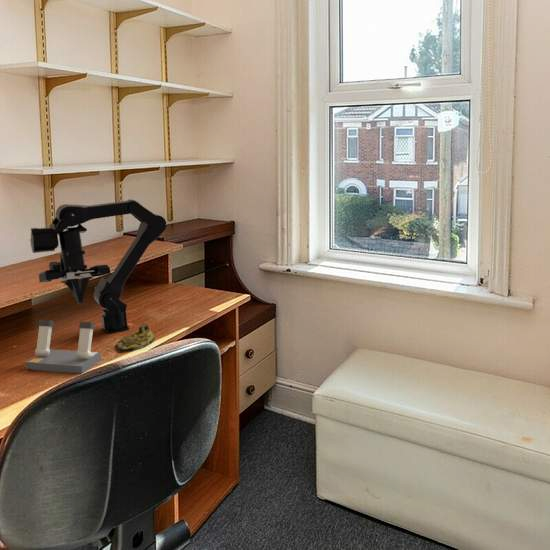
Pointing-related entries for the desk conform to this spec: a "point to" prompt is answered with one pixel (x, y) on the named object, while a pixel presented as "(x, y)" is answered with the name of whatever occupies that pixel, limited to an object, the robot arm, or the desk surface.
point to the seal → (136, 339)
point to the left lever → (44, 337)
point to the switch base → (63, 362)
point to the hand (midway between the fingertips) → (80, 303)
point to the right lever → (85, 340)
